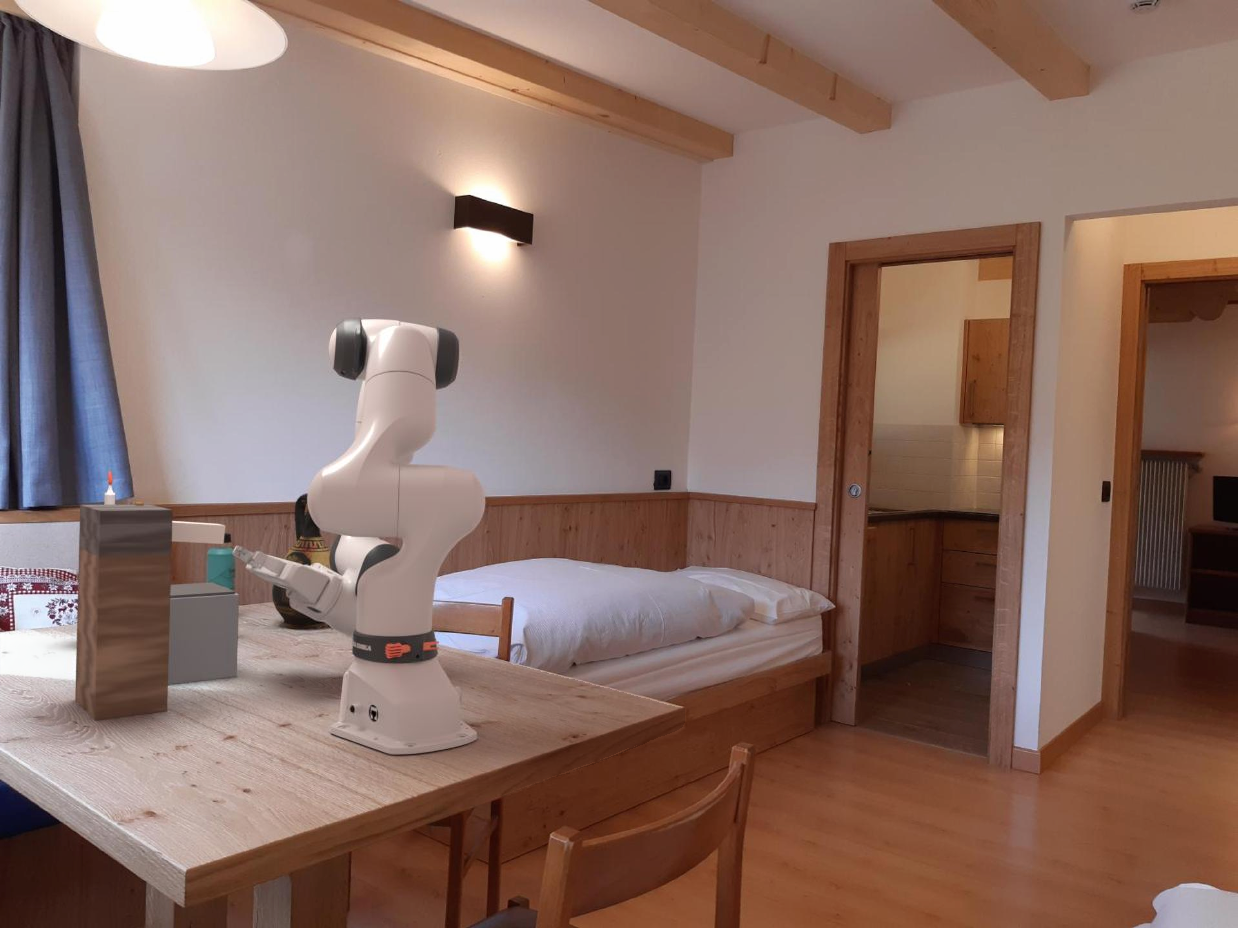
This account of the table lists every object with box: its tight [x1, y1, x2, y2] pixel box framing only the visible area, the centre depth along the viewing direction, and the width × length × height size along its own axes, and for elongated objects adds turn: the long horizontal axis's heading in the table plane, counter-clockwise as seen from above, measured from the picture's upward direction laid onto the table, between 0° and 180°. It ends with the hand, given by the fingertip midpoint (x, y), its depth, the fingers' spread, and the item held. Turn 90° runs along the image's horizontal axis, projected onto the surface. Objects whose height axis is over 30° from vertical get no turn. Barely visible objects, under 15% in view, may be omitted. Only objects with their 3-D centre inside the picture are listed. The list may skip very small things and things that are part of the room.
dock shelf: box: [168, 582, 240, 685], centre depth 175 cm, size 14×16×15 cm
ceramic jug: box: [271, 492, 331, 630], centre depth 226 cm, size 17×15×30 cm
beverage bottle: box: [205, 532, 237, 591], centre depth 229 cm, size 6×7×20 cm
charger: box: [172, 520, 226, 545], centre depth 157 cm, size 4×16×3 cm, turn 129°
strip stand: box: [74, 502, 174, 721], centre depth 154 cm, size 14×10×31 cm
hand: (244, 552), depth 165 cm, fingers open, 8 cm apart
